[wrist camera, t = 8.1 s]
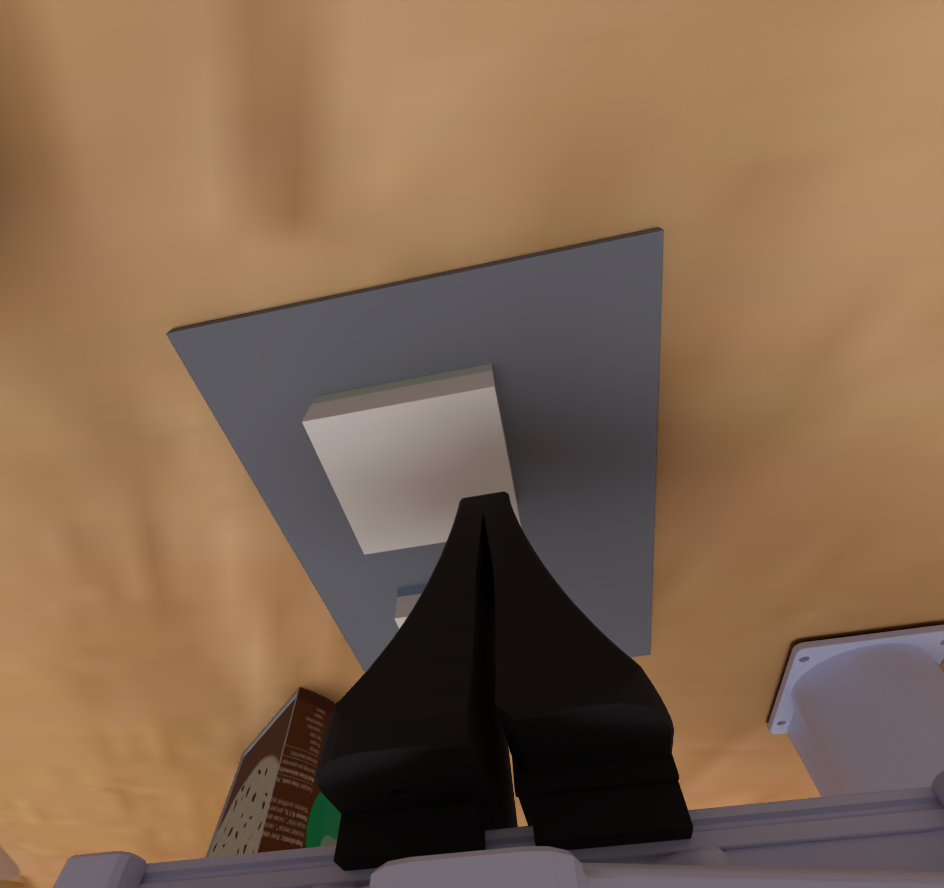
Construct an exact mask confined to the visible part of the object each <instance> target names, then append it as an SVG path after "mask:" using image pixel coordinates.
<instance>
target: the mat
mask: <svg viewBox="0 0 944 888" xmlns="http://www.w3.org/2000/svg"><path fill="white" fill-rule="evenodd" d="M663 236H664V230H663V229H661V228H654V229H649V230H644V231H639V232H635V233H630V234H625V235H620V236H615V237H611V238H606V239H601V240H596V241H591V242H587V243H582V244H577V245H572V246H568V247H563V248H558V249H553V250H548V251H544V252H539V253H534V254H529V255H524V256H520V257H515V258H510V259H505V260H500V261H496V262H491V263H486V264H481V265H476V266H472V267H467V268H462V269H457V270H452V271H448V272H443V273H438V274H433V275H429V276H424V277H419V278H414V279H409V280H405V281H400V282H395V283H390V284H385V285H381V286H376V287H371V288H366V289H361V290H357V291H352V292H347V293H342V294H337V295H333V296H328V297H323V298H318V299H313V300H309V301H304V302H299V303H294V304H290V305H285V306H280V307H275V308H270V309H266V310H261V311H256V312H251V313H246V314H242V315H237V316H232V317H227V318H222V319H218V320H213V321H208V322H203V323H198V324H194V325H189V326H184V327H179V328H174V329H172V330H170V331H169V332H167V333H166V335H167V336H168V338H169V340H170V341H171V343H172V345H173V347H174V348H175V350H176V352H177V353H178V355H179V357H180V358H181V360H182V362H183V364H184V365H185V367H186V369H187V370H188V372H189V374H190V375H191V377H192V379H193V381H194V382H195V384H196V386H197V387H198V389H199V391H200V392H201V394H202V396H203V398H204V399H205V401H206V403H207V404H208V406H209V408H210V410H211V411H212V413H213V415H214V416H215V418H216V420H217V421H218V423H219V425H220V427H221V428H222V430H223V432H224V433H225V435H226V437H227V438H228V440H229V442H230V444H231V445H232V447H233V449H234V450H235V452H236V454H237V455H238V457H239V459H240V461H241V462H242V464H243V466H244V467H245V469H246V471H247V472H248V474H249V476H250V478H251V479H252V481H253V483H254V484H255V486H256V488H257V489H258V491H259V493H260V495H261V496H262V498H263V500H264V501H265V503H266V505H267V507H268V508H269V510H270V512H271V513H272V515H273V517H274V518H275V520H276V522H277V524H278V525H279V527H280V529H281V530H282V532H283V534H284V535H285V537H286V539H287V541H288V542H289V544H290V546H291V547H292V549H293V551H294V552H295V554H296V556H297V558H298V559H299V561H300V563H301V564H302V566H303V568H304V569H305V571H306V573H307V575H308V576H309V578H310V580H311V581H312V583H313V585H314V587H315V588H316V590H317V592H318V593H319V595H320V597H321V598H322V600H323V602H324V604H325V605H326V607H327V609H328V610H329V612H330V614H331V615H332V617H333V619H334V621H335V622H336V624H337V626H338V627H339V629H340V631H341V632H342V634H343V636H344V638H345V639H346V641H347V643H348V644H349V646H350V648H351V649H352V651H353V653H354V655H355V656H356V658H357V660H358V661H359V663H360V665H361V666H362V668H363V670H364V672H365V673H366V671H367V670H368V669H369V668H370V667H371V665H372V664H373V663H374V662H375V660H376V659H377V658H378V656H379V655H380V654H381V653H382V651H383V650H384V649H385V648H386V646H387V645H388V644H389V643H390V641H391V640H392V639H393V637H394V636H395V634H396V633H397V632H398V630H399V627H398V625H397V623H396V621H395V619H394V617H395V610H396V602H397V595H398V588H401V587H408V586H415V585H422V584H427V583H428V581H429V579H430V577H431V575H432V573H433V571H434V569H435V567H436V565H437V562H438V560H439V558H440V556H441V554H442V551H443V549H444V546H445V544H446V542H442V543H436V544H429V545H423V546H417V547H410V548H404V549H397V550H391V551H384V552H378V553H372V554H365V555H364V553H363V551H362V549H361V547H360V545H359V542H358V540H357V538H356V536H355V534H354V532H353V530H352V528H351V525H350V523H349V521H348V519H347V517H346V515H345V513H344V510H343V508H342V506H341V504H340V502H339V500H338V498H337V496H336V493H335V491H334V489H333V487H332V485H331V483H330V481H329V478H328V476H327V474H326V472H325V470H324V468H323V466H322V464H321V461H320V459H319V457H318V455H317V453H316V451H315V449H314V447H313V444H312V442H311V440H310V438H309V436H308V434H307V432H306V429H305V427H304V425H303V423H302V421H303V419H304V417H305V415H306V413H307V411H308V410H309V408H310V406H311V404H312V402H313V400H314V398H315V397H317V396H323V395H328V394H333V393H339V392H344V391H349V390H355V389H360V388H365V387H370V386H376V385H381V384H386V383H392V382H397V381H402V380H407V379H413V378H418V377H423V376H429V375H434V374H439V373H444V372H450V371H455V370H460V369H466V368H471V367H476V366H482V365H487V364H492V369H493V374H494V380H495V385H496V390H497V396H498V401H499V406H500V412H501V417H502V422H503V428H504V433H505V438H506V444H507V449H508V454H509V460H510V465H511V470H512V476H513V481H514V487H515V492H516V497H517V503H518V509H519V516H520V523H521V528H522V530H523V532H524V534H525V535H526V537H527V539H528V541H529V542H530V544H531V546H532V547H533V549H534V551H535V552H536V554H537V555H538V557H539V558H540V560H541V561H542V563H543V564H544V566H545V567H546V568H547V570H548V571H549V573H550V574H551V575H552V577H553V578H554V579H555V581H556V582H557V583H558V584H559V586H560V587H561V588H562V589H563V591H564V592H565V593H566V594H567V595H568V597H569V598H570V599H571V600H572V601H573V602H574V604H575V605H576V606H577V607H578V608H579V609H580V610H581V611H582V612H583V613H584V614H585V615H586V616H587V617H588V618H589V619H590V620H591V622H592V623H593V624H594V625H595V626H596V627H597V628H598V629H599V630H600V631H601V632H602V633H603V634H605V635H606V636H607V637H608V638H609V639H610V640H611V641H612V642H613V643H614V644H615V645H616V646H617V647H619V648H620V649H621V650H622V651H623V652H624V653H625V654H627V655H628V656H629V657H635V656H642V655H650V649H651V617H652V586H653V554H654V522H655V490H656V459H657V427H658V395H659V363H660V331H661V300H662V268H663Z"/></svg>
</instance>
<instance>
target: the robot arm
mask: <svg viewBox="0 0 944 888" xmlns="http://www.w3.org/2000/svg"><path fill="white" fill-rule="evenodd" d="M943 659H944V624H943V625H935V626H927V627H919V628H912V629H904V630H896V631H888V632H880V633H872V634H864V635H857V636H849V637H841V638H833V639H825V640H817V641H809V642H802V643H799V644H797V645H795V646H794V647H793V649H792V652H791V655H790V658H789V661H788V664H787V667H786V670H785V673H784V676H783V680H782V683H781V686H780V689H779V692H778V695H777V698H776V701H775V704H774V707H773V710H772V713H771V716H770V720H769V723H768V729H769V731H770V732H771V733H772V734H784V733H788V735H789V737H790V739H791V741H792V743H793V745H794V747H795V748H796V750H797V752H798V754H799V756H800V758H801V760H802V761H803V763H804V765H805V767H806V769H807V771H808V773H809V774H810V776H811V778H812V780H813V782H814V784H815V786H816V788H817V789H818V791H819V793H820V795H821V797H818V798H808V799H798V800H788V801H778V802H767V803H757V804H747V805H737V806H727V807H717V808H707V809H697V810H688V809H687V806H686V803H685V800H684V797H683V794H682V791H681V788H680V785H679V782H678V780H679V774H678V771H677V768H676V765H675V762H674V759H673V756H672V746H673V736H674V728H673V723H672V720H671V717H670V715H669V713H668V711H667V708H666V706H665V704H664V703H663V701H662V699H661V697H660V695H659V694H658V692H657V691H656V689H655V687H654V686H653V684H652V683H651V681H650V680H649V678H648V677H647V675H646V674H645V672H644V671H643V669H642V668H641V666H640V665H638V664H637V663H636V662H635V661H634V660H633V659H631V658H630V657H629V656H628V655H627V654H625V653H624V652H623V651H622V650H621V649H620V648H619V647H617V646H616V645H615V644H614V643H613V642H612V641H611V640H610V639H609V638H608V637H607V636H606V635H605V634H603V633H602V632H601V631H600V630H599V629H598V628H597V627H596V626H595V625H594V624H593V623H592V622H591V620H590V619H589V618H588V617H587V616H586V615H585V614H584V613H583V612H582V611H581V610H580V609H579V608H578V607H577V606H576V605H575V604H574V602H573V601H572V600H571V599H570V598H569V597H568V595H567V594H566V593H565V592H564V591H563V589H562V588H561V587H560V586H559V584H558V583H557V582H556V581H555V579H554V578H553V577H552V575H551V574H550V573H549V571H548V570H547V568H546V567H545V566H544V564H543V563H542V561H541V560H540V558H539V557H538V555H537V554H536V552H535V551H534V549H533V547H532V546H531V544H530V542H529V541H528V539H527V537H526V535H525V534H524V532H523V530H522V528H521V526H520V524H519V522H518V520H517V518H516V515H515V513H514V511H513V508H512V505H511V502H510V497H509V494H508V493H506V492H505V491H503V492H497V493H491V494H485V495H479V496H473V497H466V498H462V499H461V500H460V502H459V506H458V510H457V513H456V516H455V520H454V523H453V526H452V528H451V531H450V534H449V537H448V539H447V541H446V544H445V546H444V549H443V551H442V554H441V556H440V558H439V560H438V562H437V565H436V567H435V569H434V571H433V573H432V575H431V577H430V579H429V581H428V583H427V585H426V587H425V588H424V590H423V592H422V594H421V596H420V597H419V599H418V601H417V602H416V604H415V606H414V607H413V609H412V611H411V612H410V614H409V615H408V617H407V618H406V620H405V621H404V623H403V624H402V626H401V627H400V629H399V630H398V632H397V633H396V634H395V636H394V637H393V639H392V640H391V641H390V643H389V644H388V645H387V646H386V648H385V649H384V650H383V651H382V653H381V654H380V655H379V656H378V658H377V659H376V660H375V662H374V663H373V664H372V665H371V667H370V668H369V669H368V670H367V671H366V673H365V674H364V675H363V676H362V677H361V678H360V679H359V680H358V681H357V682H356V684H355V685H354V686H353V687H352V688H351V689H350V690H349V691H348V692H347V693H346V694H345V696H344V697H343V698H342V699H341V700H340V701H339V702H338V703H337V704H336V705H335V706H334V709H333V712H332V715H331V718H330V721H329V723H328V727H327V730H326V732H325V735H324V739H323V743H322V748H321V753H320V757H319V762H318V766H317V771H316V780H315V782H316V784H317V786H318V787H319V789H320V791H321V792H322V794H323V795H324V796H325V797H326V798H327V799H328V800H329V801H330V802H331V803H332V804H333V805H334V807H335V808H336V809H337V810H338V811H339V812H340V813H341V819H340V825H339V831H338V837H337V843H336V845H332V846H322V847H312V848H301V849H291V850H281V851H271V852H261V853H251V854H241V855H230V856H220V857H210V858H200V859H190V860H180V861H170V862H160V863H149V864H147V863H146V861H145V860H144V859H142V858H141V857H139V856H137V855H135V854H132V853H129V852H123V851H112V852H103V853H93V854H83V855H74V856H72V857H70V858H69V859H68V860H67V862H66V864H65V866H64V868H63V869H62V871H61V873H60V875H59V877H58V879H57V881H56V883H55V885H54V886H53V888H944V671H943V670H942V668H941V667H940V666H939V665H940V664H941V662H942V660H943ZM508 746H509V748H508ZM509 749H510V752H511V755H512V762H513V774H514V786H515V794H516V797H519V800H520V803H521V806H522V809H523V812H524V815H525V818H526V820H527V823H528V826H524V827H518V825H517V817H516V809H515V800H514V792H513V783H512V775H511V766H510V757H509Z"/></svg>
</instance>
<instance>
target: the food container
mask: <svg viewBox="0 0 944 888" xmlns="http://www.w3.org/2000/svg"><path fill="white" fill-rule="evenodd" d="M335 705H336V704H335V703H333V702H332V701H330V700H328V699H327V698H325V697H323V696H321V695H319V694H316V693H314V692H312V691H309V690H306V689H303V688H300V687H299V689H298V690H297V691H296V692H295V693H294V694H293V695H292V697H291V698H290V699H289V700H288V701H287V702H286V704H285V705H284V706H283V707H282V708H281V709H280V711H279V712H278V713H277V714H276V715H275V716H274V718H273V719H272V720H271V721H270V722H269V723H268V724H267V726H266V727H265V728H264V729H263V730H262V731H261V733H260V734H259V735H258V736H257V737H256V738H255V740H254V741H253V742H252V743H251V744H250V745H249V747H248V748H247V749H246V750H245V751H244V752H243V755H242V758H241V760H240V763H239V766H238V769H237V771H236V774H235V777H234V780H233V782H232V785H231V788H230V791H229V793H228V796H227V799H226V802H225V805H224V807H223V810H222V813H221V816H220V818H219V821H218V824H217V827H216V829H215V832H214V835H213V838H212V840H211V843H210V846H209V849H208V851H207V854H206V857H205V858H210V857H220V856H230V855H241V854H251V853H261V852H271V851H281V850H291V849H301V848H312V847H322V846H332V845H336V843H337V837H338V831H339V825H340V819H341V813H340V812H339V811H338V810H337V809H336V808H335V807H334V805H333V804H332V803H331V802H330V801H329V800H328V799H327V798H326V797H325V796H324V795H323V794H322V792H321V791H320V789H319V787H318V786H317V784H316V782H315V780H316V771H317V766H318V762H319V757H320V753H321V748H322V743H323V739H324V735H325V732H326V730H327V727H328V723H329V721H330V718H331V715H332V712H333V709H334V706H335Z"/></svg>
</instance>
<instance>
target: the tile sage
mask: <svg viewBox="0 0 944 888" xmlns="http://www.w3.org/2000/svg"><path fill="white" fill-rule="evenodd" d="M302 423H303V425H304V427H305V429H306V432H307V434H308V436H309V438H310V440H311V442H312V444H313V447H314V449H315V451H316V453H317V455H318V457H319V459H320V461H321V464H322V466H323V468H324V470H325V472H326V474H327V476H328V478H329V481H330V483H331V485H332V487H333V489H334V491H335V493H336V496H337V498H338V500H339V502H340V504H341V506H342V508H343V510H344V513H345V515H346V517H347V519H348V521H349V523H350V525H351V528H352V530H353V532H354V534H355V536H356V538H357V540H358V542H359V545H360V547H361V549H362V551H363V553H364V555H365V554H372V553H378V552H384V551H391V550H397V549H404V548H410V547H417V546H423V545H429V544H436V543H442V542H446V541H447V539H448V537H449V534H450V531H451V528H452V526H453V523H454V520H455V516H456V513H457V510H458V506H459V502H460V500H461V499H462V498H466V497H473V496H479V495H485V494H491V493H497V492H503V491H505V492H506V493H508V494H509V497H510V502H511V505H512V508H513V511H514V513H515V515H516V518H517V520H518V522H519V524H520V526H521V523H520V516H519V509H518V503H517V497H516V492H515V487H514V481H513V476H512V470H511V465H510V460H509V454H508V449H507V444H506V438H505V433H504V428H503V422H502V417H501V412H500V406H499V401H498V396H497V390H496V385H495V380H494V374H493V369H492V364H487V365H482V366H476V367H471V368H466V369H460V370H455V371H450V372H444V373H439V374H434V375H429V376H423V377H418V378H413V379H407V380H402V381H397V382H392V383H386V384H381V385H376V386H370V387H365V388H360V389H355V390H349V391H344V392H339V393H333V394H328V395H323V396H317V397H315V398H314V400H313V402H312V404H311V406H310V408H309V410H308V411H307V413H306V415H305V417H304V419H303V421H302Z"/></svg>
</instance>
